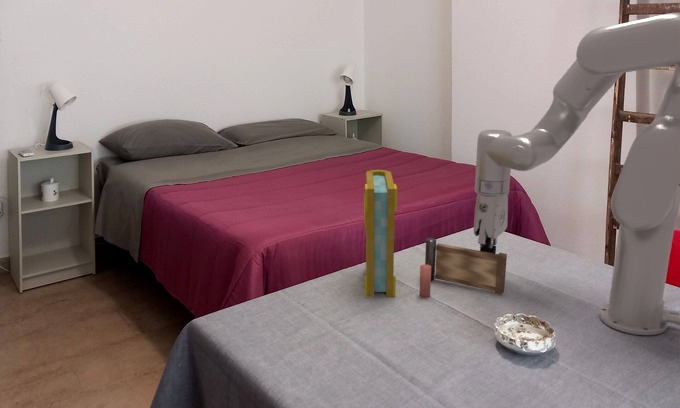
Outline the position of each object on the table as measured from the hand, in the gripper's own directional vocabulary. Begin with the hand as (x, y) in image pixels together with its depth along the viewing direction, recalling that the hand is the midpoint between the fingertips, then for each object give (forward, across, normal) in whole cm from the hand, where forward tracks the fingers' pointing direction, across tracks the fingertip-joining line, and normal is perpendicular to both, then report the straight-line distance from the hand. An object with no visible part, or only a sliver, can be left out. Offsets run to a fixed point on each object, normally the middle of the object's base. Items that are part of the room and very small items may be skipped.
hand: (487, 261), depth 143 cm
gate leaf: (+5, -5, +2) cm, 7 cm away
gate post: (+5, -6, +12) cm, 14 cm away
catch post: (+5, -14, +9) cm, 18 cm away
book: (+5, -13, +22) cm, 26 cm away
